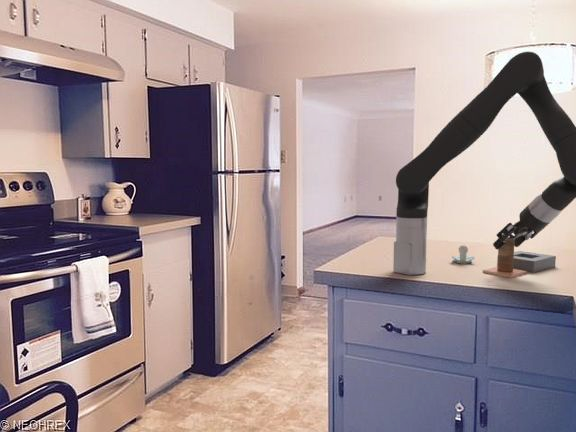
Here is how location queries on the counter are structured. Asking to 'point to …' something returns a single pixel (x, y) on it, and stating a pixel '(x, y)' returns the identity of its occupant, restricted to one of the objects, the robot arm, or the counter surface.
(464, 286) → the counter surface
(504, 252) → the walnut peg
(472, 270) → the counter surface
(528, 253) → the pocket holder
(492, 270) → the terracotta tile
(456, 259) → the pacifier
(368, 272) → the counter surface
